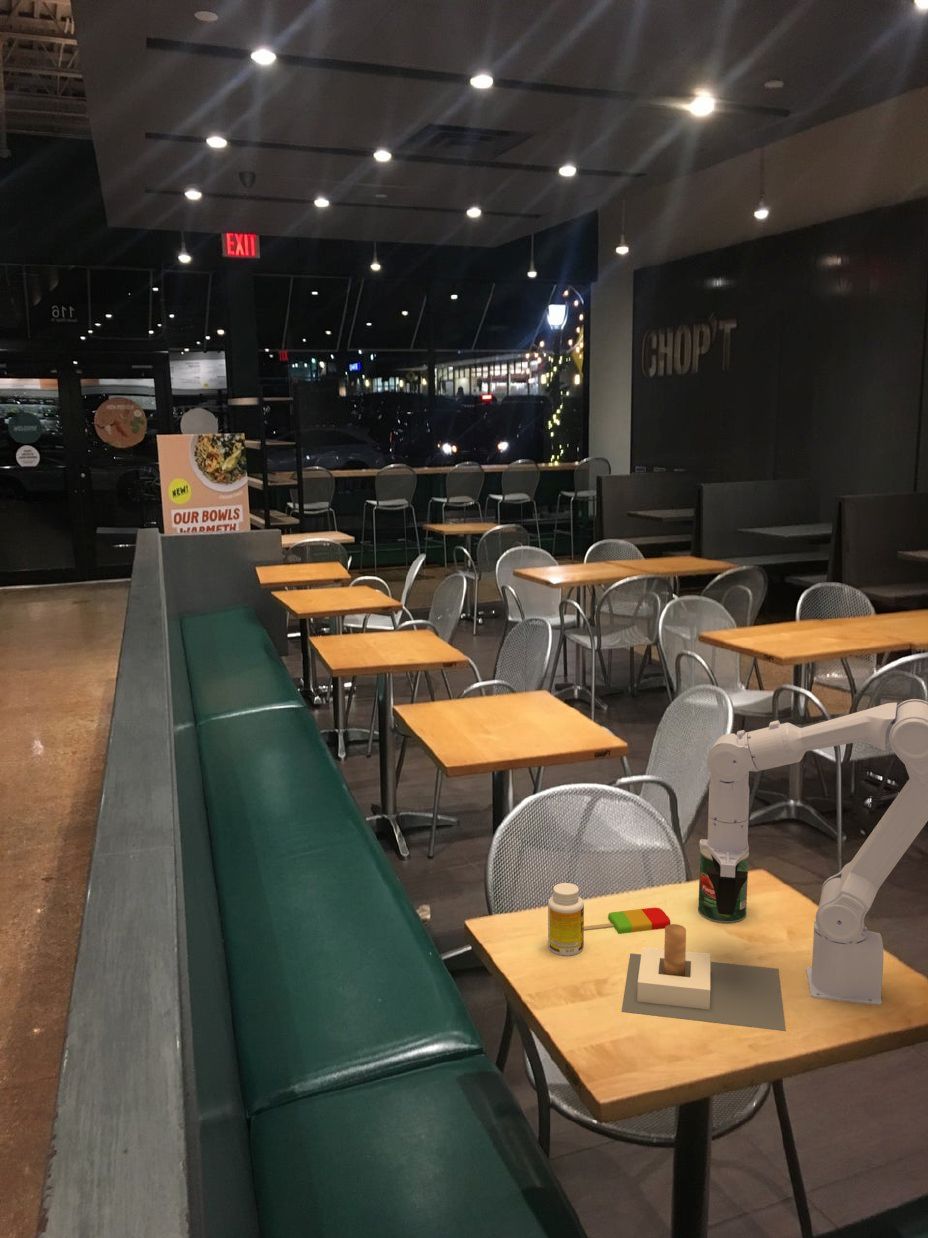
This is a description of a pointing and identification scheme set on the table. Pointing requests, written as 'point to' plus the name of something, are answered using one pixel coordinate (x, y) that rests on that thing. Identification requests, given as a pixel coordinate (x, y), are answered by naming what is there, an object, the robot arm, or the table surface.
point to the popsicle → (635, 920)
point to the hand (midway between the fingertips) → (725, 901)
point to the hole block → (674, 980)
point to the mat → (721, 997)
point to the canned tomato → (708, 895)
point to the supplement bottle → (566, 920)
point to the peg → (675, 950)
